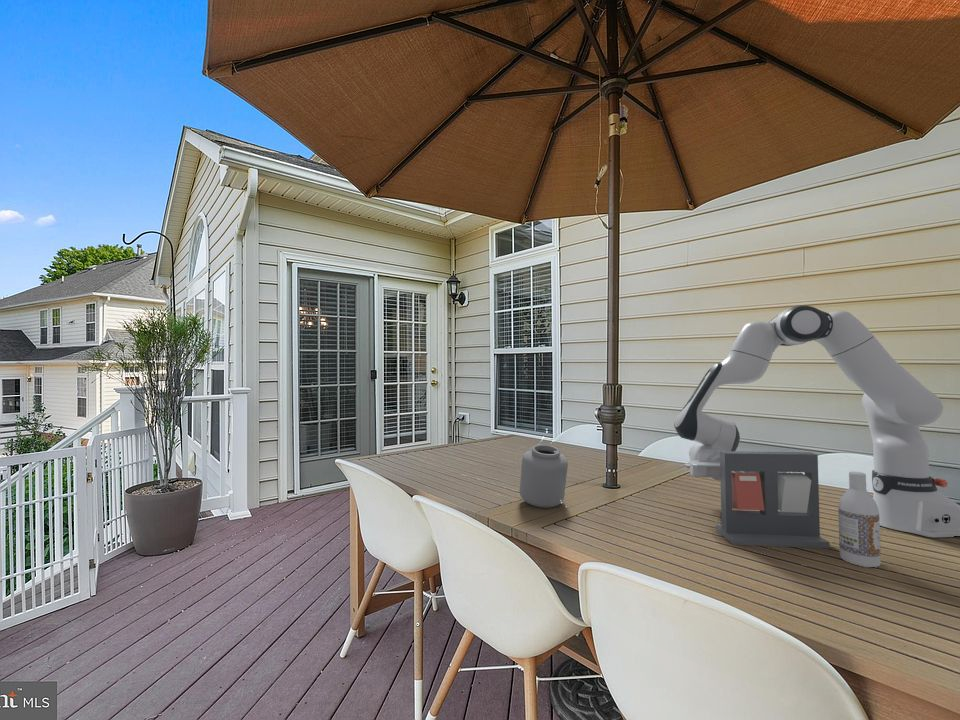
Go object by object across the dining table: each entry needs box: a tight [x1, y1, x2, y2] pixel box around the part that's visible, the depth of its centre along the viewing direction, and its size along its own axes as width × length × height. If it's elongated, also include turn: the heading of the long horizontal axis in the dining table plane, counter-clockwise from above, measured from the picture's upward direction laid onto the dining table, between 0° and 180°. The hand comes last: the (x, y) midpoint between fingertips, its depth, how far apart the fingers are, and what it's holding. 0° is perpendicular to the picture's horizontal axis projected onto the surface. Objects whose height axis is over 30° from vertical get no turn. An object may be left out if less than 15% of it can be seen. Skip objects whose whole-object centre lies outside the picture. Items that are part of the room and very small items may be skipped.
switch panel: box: [715, 450, 830, 549], centre depth 111 cm, size 22×10×22 cm, turn 82°
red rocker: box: [731, 473, 764, 511], centre depth 112 cm, size 6×4×9 cm
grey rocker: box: [777, 472, 811, 513], centre depth 110 cm, size 6×4×9 cm, turn 82°
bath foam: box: [837, 471, 882, 568], centre depth 98 cm, size 7×7×20 cm
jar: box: [519, 428, 569, 509], centre depth 141 cm, size 19×15×25 cm
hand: (740, 475), depth 115 cm, fingers closed, pressing on red rocker
